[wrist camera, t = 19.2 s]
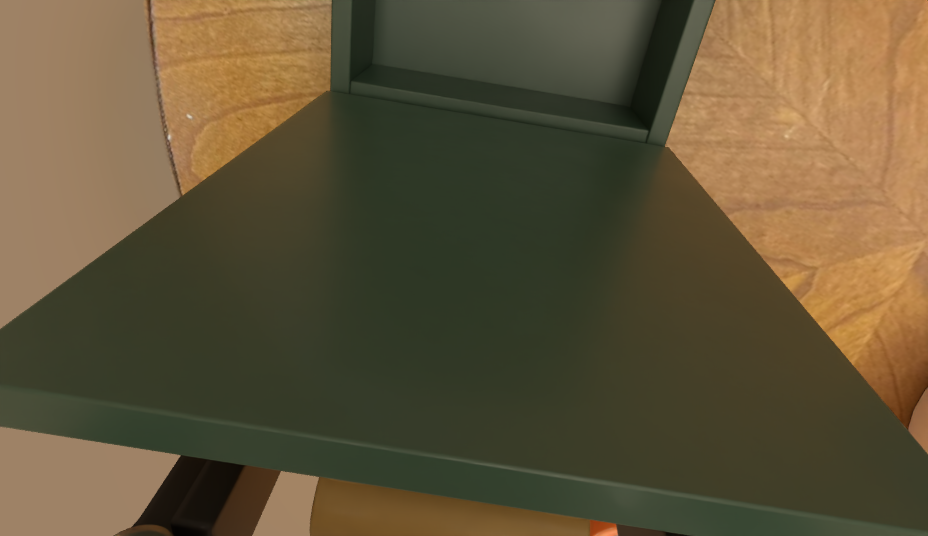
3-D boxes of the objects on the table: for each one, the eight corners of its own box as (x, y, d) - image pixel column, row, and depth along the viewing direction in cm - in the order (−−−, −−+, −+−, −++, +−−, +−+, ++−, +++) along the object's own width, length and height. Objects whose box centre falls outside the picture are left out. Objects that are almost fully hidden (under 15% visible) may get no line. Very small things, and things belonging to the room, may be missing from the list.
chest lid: (-69, 376, 7) (36, 586, 9) (1009, 547, 7) (822, 708, 9) (326, 90, 21) (324, 202, 23) (669, 146, 21) (631, 252, 23)
